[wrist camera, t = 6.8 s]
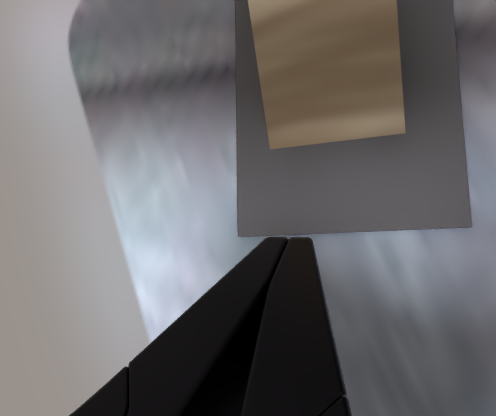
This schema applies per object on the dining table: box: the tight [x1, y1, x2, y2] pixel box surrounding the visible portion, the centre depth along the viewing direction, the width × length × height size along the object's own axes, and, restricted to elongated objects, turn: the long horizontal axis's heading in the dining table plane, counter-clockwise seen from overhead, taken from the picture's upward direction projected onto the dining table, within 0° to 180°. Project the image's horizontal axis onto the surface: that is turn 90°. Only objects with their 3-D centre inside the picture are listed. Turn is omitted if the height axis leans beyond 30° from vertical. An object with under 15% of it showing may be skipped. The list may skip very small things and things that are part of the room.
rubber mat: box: [235, 0, 472, 237], centre depth 18 cm, size 17×9×1 cm, turn 1°
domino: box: [248, 0, 406, 149], centre depth 15 cm, size 2×5×10 cm
